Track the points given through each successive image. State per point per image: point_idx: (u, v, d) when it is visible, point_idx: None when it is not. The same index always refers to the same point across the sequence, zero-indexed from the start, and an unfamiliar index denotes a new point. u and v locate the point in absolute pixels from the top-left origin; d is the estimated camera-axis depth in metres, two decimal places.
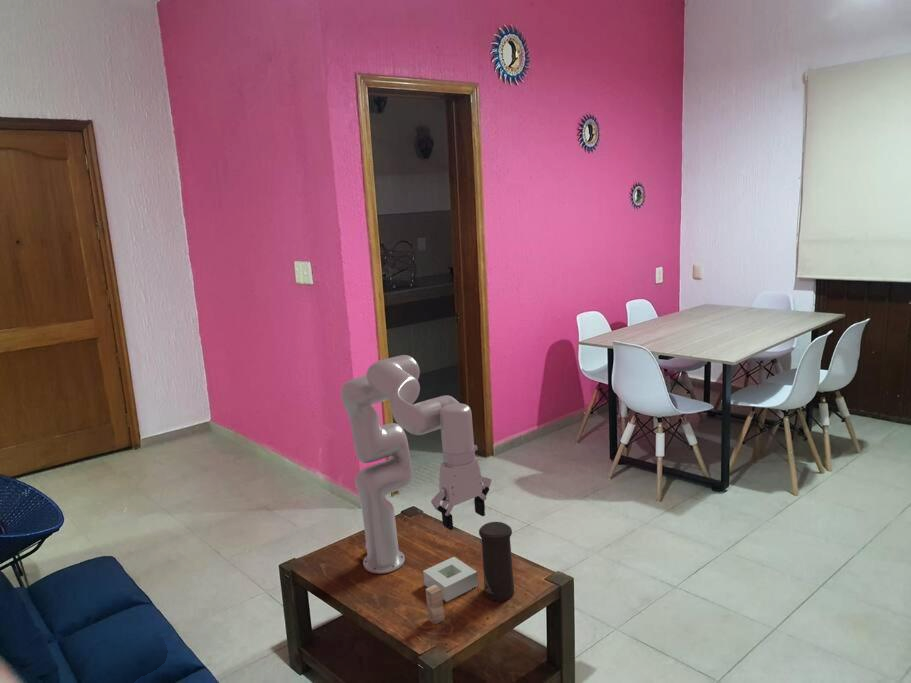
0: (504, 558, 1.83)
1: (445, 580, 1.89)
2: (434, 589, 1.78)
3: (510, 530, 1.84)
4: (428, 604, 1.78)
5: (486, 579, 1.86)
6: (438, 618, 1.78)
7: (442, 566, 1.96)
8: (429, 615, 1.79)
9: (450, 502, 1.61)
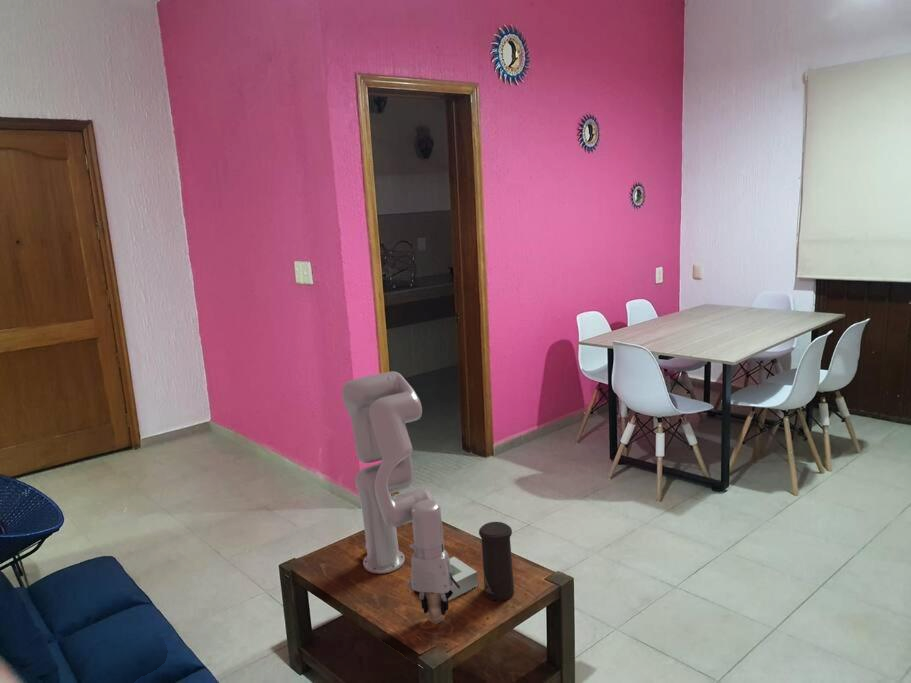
0: (504, 558, 1.83)
1: None
2: None
3: (510, 530, 1.84)
4: (428, 604, 1.78)
5: (486, 579, 1.86)
6: (438, 618, 1.78)
7: None
8: (429, 615, 1.79)
9: None
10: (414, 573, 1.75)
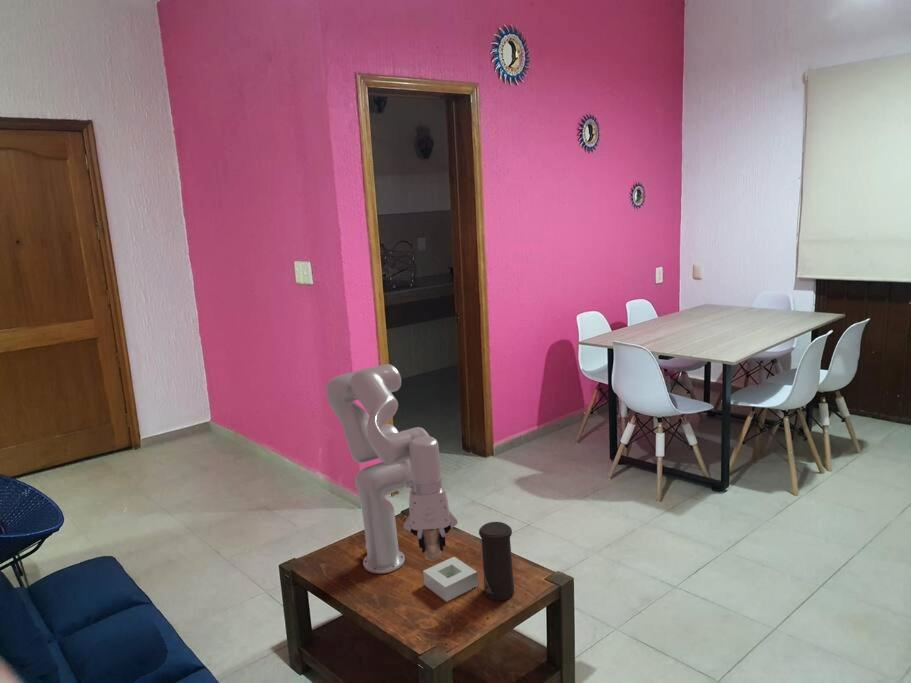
0: (504, 558, 1.83)
1: (445, 580, 1.89)
2: None
3: (510, 530, 1.84)
4: (426, 543, 1.77)
5: (486, 579, 1.86)
6: (436, 555, 1.78)
7: (442, 566, 1.96)
8: (426, 554, 1.78)
9: None
10: (413, 511, 1.73)
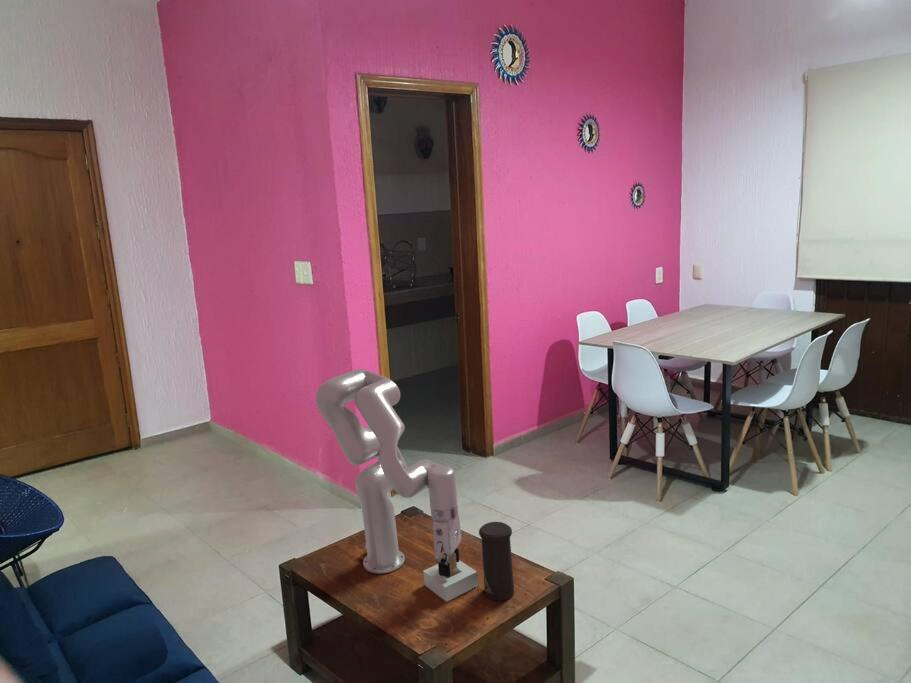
0: (504, 558, 1.83)
1: (445, 580, 1.89)
2: None
3: (510, 530, 1.84)
4: (450, 569, 1.92)
5: (486, 579, 1.86)
6: None
7: None
8: None
9: None
10: (450, 537, 1.86)
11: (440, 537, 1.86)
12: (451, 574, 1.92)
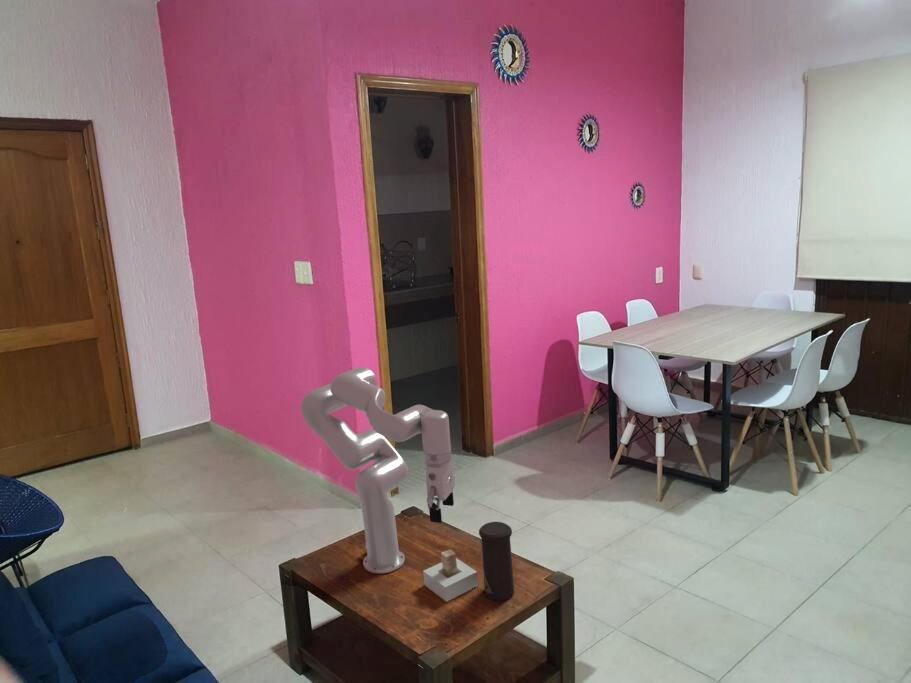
0: (504, 558, 1.83)
1: (445, 580, 1.89)
2: (449, 552, 1.92)
3: (510, 530, 1.84)
4: (450, 569, 1.92)
5: (486, 579, 1.86)
6: None
7: None
8: None
9: None
10: (443, 482, 1.82)
11: (433, 482, 1.82)
12: (451, 574, 1.92)
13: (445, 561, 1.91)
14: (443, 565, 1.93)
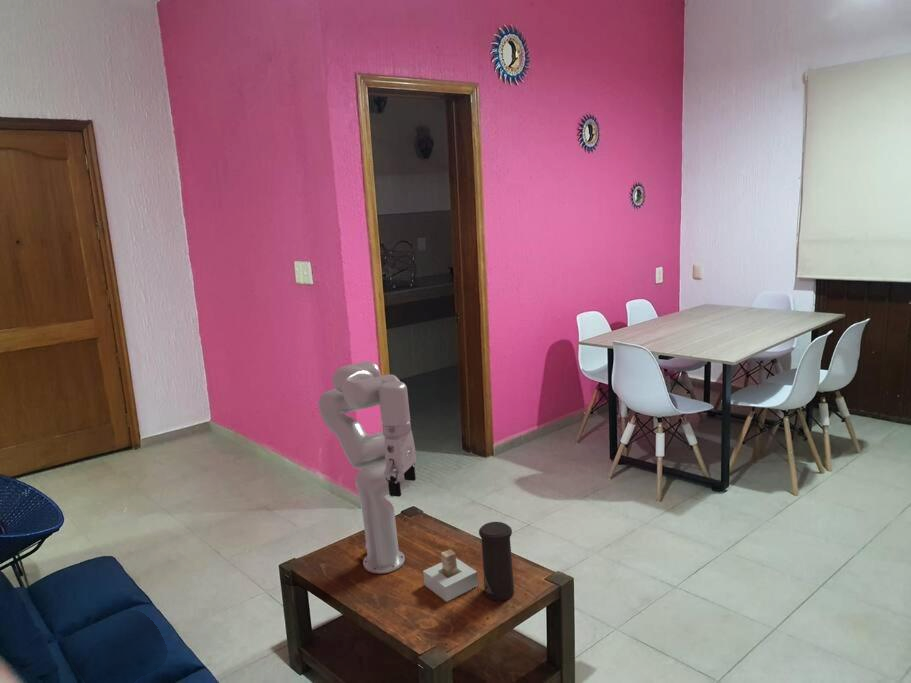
0: (504, 558, 1.83)
1: (445, 580, 1.89)
2: (449, 552, 1.92)
3: (510, 530, 1.84)
4: (450, 569, 1.92)
5: (486, 579, 1.86)
6: None
7: None
8: None
9: None
10: (402, 455, 1.78)
11: (391, 454, 1.77)
12: (451, 574, 1.92)
13: (445, 561, 1.91)
14: (443, 565, 1.93)
